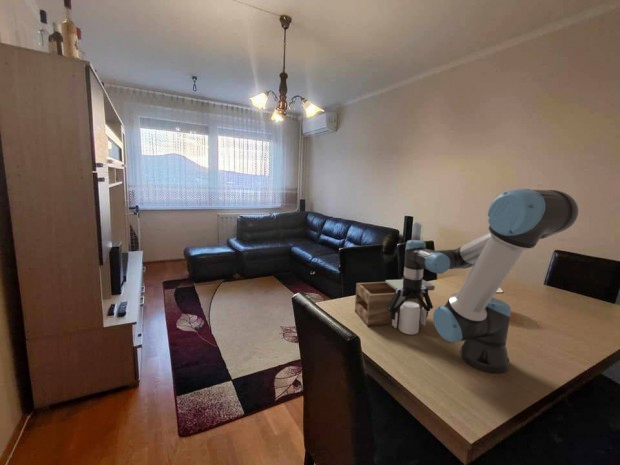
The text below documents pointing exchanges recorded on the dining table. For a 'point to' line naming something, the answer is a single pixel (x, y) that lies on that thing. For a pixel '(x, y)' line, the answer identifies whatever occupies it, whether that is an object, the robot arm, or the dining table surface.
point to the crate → (377, 303)
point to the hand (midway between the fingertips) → (408, 325)
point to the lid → (399, 284)
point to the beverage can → (409, 318)
